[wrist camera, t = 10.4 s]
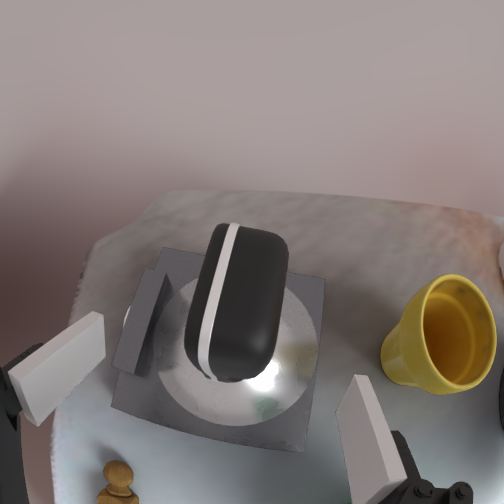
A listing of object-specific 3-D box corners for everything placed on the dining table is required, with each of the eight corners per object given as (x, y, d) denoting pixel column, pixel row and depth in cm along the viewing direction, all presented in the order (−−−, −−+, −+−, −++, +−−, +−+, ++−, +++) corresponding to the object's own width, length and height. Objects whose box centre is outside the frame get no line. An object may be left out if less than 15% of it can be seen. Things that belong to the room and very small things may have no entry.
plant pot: (425, 413, 21) (489, 401, 13) (350, 385, 23) (405, 367, 15) (444, 332, 26) (499, 299, 18) (380, 299, 28) (428, 253, 20)
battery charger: (253, 391, 19) (280, 374, 9) (203, 380, 19) (174, 351, 9) (268, 307, 22) (300, 219, 13) (222, 298, 23) (220, 204, 13)
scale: (316, 291, 28) (331, 269, 24) (294, 447, 20) (309, 455, 16) (164, 261, 29) (154, 234, 25) (118, 405, 20) (95, 403, 16)
